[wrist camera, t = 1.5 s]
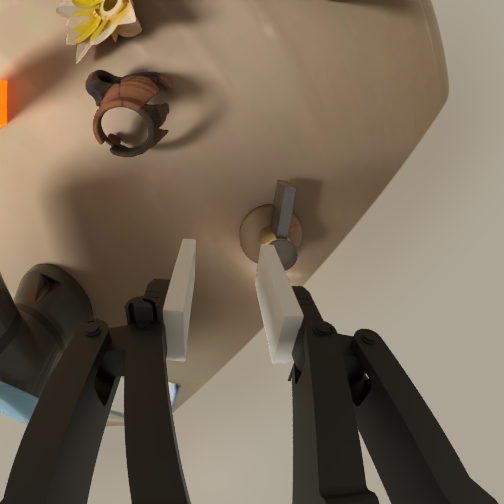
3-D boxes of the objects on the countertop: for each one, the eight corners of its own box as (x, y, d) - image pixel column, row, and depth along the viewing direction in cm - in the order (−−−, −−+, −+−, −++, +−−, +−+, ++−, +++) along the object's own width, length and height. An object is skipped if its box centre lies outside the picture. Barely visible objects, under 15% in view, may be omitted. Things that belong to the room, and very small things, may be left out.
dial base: (251, 268, 38) (252, 274, 36) (230, 216, 34) (231, 220, 33) (305, 249, 37) (308, 254, 36) (290, 195, 34) (293, 198, 32)
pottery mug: (197, 91, 27) (180, 122, 23) (155, 139, 33) (135, 178, 28) (121, 40, 20) (84, 61, 16) (87, 97, 26) (54, 129, 21)
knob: (284, 252, 35) (293, 272, 31) (255, 250, 35) (260, 270, 30) (297, 181, 31) (310, 191, 27) (265, 177, 31) (274, 187, 26)
